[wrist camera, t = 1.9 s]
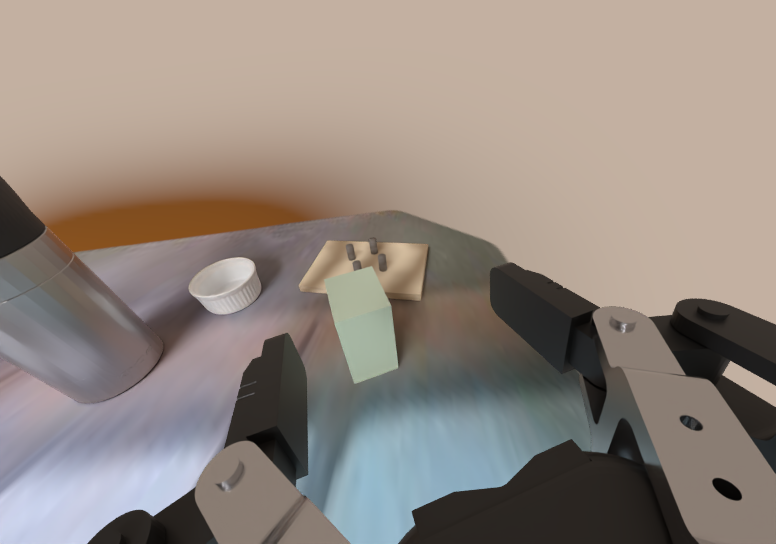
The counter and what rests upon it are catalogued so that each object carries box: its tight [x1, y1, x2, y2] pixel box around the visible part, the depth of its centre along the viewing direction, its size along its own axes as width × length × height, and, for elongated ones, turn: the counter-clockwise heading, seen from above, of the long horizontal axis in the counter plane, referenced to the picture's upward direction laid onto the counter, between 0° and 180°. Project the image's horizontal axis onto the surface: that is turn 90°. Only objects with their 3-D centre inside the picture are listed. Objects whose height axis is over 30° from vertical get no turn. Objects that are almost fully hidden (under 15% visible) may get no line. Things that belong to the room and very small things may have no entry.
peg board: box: [299, 238, 428, 301], centre depth 42 cm, size 18×12×4 cm, turn 79°
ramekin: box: [189, 257, 261, 315], centre depth 40 cm, size 9×9×4 cm
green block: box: [324, 266, 398, 384], centre depth 29 cm, size 6×5×10 cm
